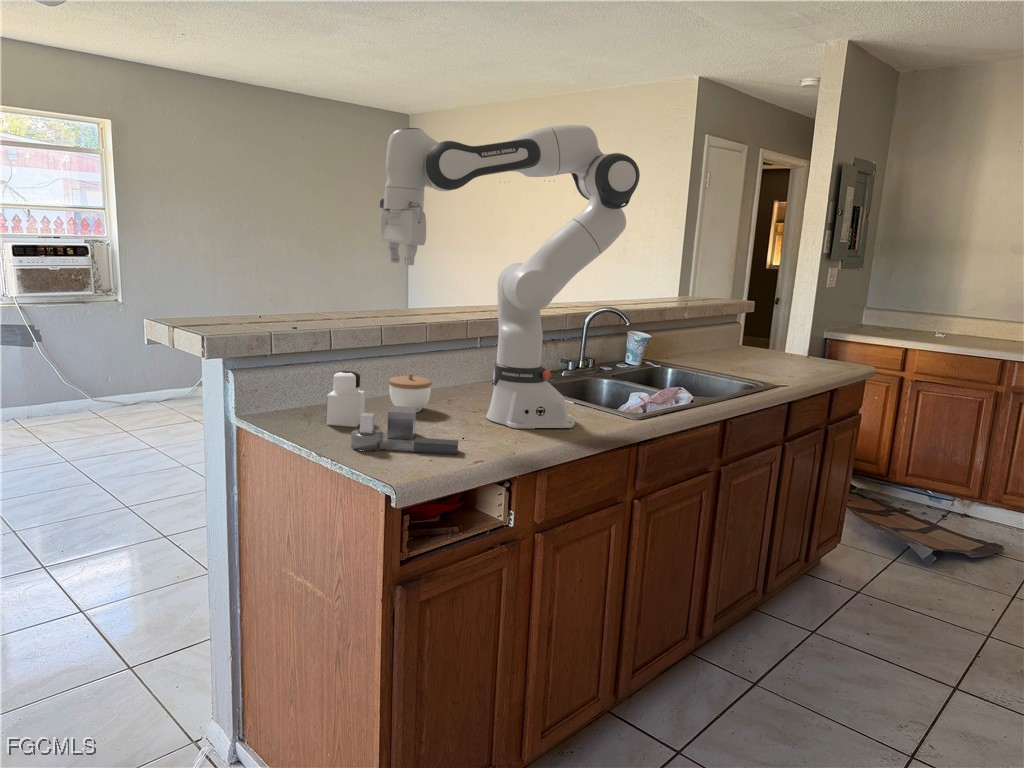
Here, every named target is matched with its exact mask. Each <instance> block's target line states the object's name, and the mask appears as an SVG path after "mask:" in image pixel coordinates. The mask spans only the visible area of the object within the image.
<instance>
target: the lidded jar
mask: <svg viewBox="0 0 1024 768" xmlns="http://www.w3.org/2000/svg"><path fill="white" fill-rule="evenodd" d="M388 381H389V382H388V383H389V386H388V387H389V397H390V401H391V403H392V404H393V406H403V407H416V413H418V412H421V411H422V409H423V408H425V406H427V404H428V402H429V400H430V397H431V390H432V383H433V382H432V380H431V379H429V378H427V377H422V376H417V375H416V376H414V374H413V373H408V375H399V376H393V377H391V378H389V379H388Z"/></svg>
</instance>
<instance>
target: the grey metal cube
mask: <svg viewBox="0 0 1024 768" xmlns="http://www.w3.org/2000/svg"><path fill="white" fill-rule="evenodd" d="M416 420H417V412H416V407H403V406H395V405H391V406H390V408H389V409H388V411H387V430H386V431H387V433H386V435H387V436H386V439H393V440H410V441H414V440H413V439H414V437H415V434H416Z"/></svg>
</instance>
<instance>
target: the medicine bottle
mask: <svg viewBox="0 0 1024 768" xmlns="http://www.w3.org/2000/svg"><path fill="white" fill-rule="evenodd" d="M332 378H333V379H332V391H330V392H329V393H328V394H327V395H326V421H325V422H326V423H325V424H326V425H327V426H336V427H347V428H348V427H349V428H357V427H358V426H360V415H361V414H362V413H365V404H366V403H365V401H366V395H365V394H366V391H365V390H361V388H360V387H361V374H360V373H358V372H356V371H352V370H340V371H336V372H335V373H333V375H332Z"/></svg>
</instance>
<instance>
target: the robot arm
mask: <svg viewBox="0 0 1024 768" xmlns="http://www.w3.org/2000/svg"><path fill="white" fill-rule="evenodd" d="M385 158H386V159H385V171H386V176H387V177H386V182H385V186H384V194H383V196H382V198H381V199H379V205H378V208H379V210H381V213H380V235H381V241H382V242H383V243H388V250H389V254H390V257H389V260H390V263H395V264H398V263H400V257H401V256H400V255H399V248H400V244H404V245H406V246H405V249H406V254H405V256H404V261H403V263H404V265H407V266H414V265H415V257H416V255H417V252H418V246H424V245H425V243H426V241H427V218H426V213H425V212H424V205H425V203H424V202H425V188H426V187H427V188H431V189H434V190H435V191H439V192H450V191H454V190H459V189H460V188H462V187H464V186H465V185H467V184H468V183H469V182H470V181H472V180H474V179H476V178H478V177H479V178H480V177H483V176H488V175H495V174H500V173H501V174H502V173H507V172H508V173H509V172H516V173H520V174H522V175H524V176H526V177H529V178H545V177H554V176H559V175H565V174H571V177H572V179H573V181H574V184H575V187H576V190H577V192H578V193H579V194H580V195H581V196H582V197H583V198H584V199H585V200H587V201H588V203H587V204H586V206H585V208H583V210H582V211H581V212H580V213H579V214H577V215H575V217H573V218H572V219H571V220H570V221H568V222H567V223H566V224H565V225H563V226H562V227H561V228H560V229H558V230H557V231H556V232H555V233H553V234H552V235H551V236H549V238H547V239H546V240H545V241H544V243H543V245H541V247H540V248H539V249H538V250H537V251H536V252H535V253H534V254H533V255H532V256H530V258H529V259H527V260H526V261H525V262H523V263H522V262H516V263H511V264H509V265H507V266H506V267H505V268H504V269H503V270H502V271H501V272H500V273H499V276H498V278H497V320H498V321H497V324H498V338H497V350H496V351H497V352H496V354H497V355H496V362H495V363H494V368H493V374H492V376H493V378H492V382H493V383H492V384H493V390H492V391H493V392H492V396H491V400H490V405H489V407H488V410H487V414H486V416H485V417H486V418H487V420H489V421H491V422H494V423H497V424H501V425H505V426H508V427H509V428H513V429H535V428H571V427H573V426H574V425H575V426H576V420H575V417H574V416H573V415H571V414H569V413H568V408H567V407H568V406H567V401H566V400H565V397H564V395H563V394H562V393H560V392H559V391H558V389H556V388H555V387H554V386H553V384H550V382H548V380H550V378H551V377H552V373H551V371H549V370H548V369H547V368H546V367H544V366H543V365H541V363H542V350H543V349H542V348H543V340H544V339H543V338H544V334H543V328H542V319H541V316H542V315H541V310H543V309H545V308H547V306H549V305H550V303H552V301H553V300H554V298H555V297H556V296H557V295H558V294H559V293H560V292H561V291H562V290H563V289H564V288H565V287H566V285H567V284H568V283H570V282H571V280H572V279H573V278H574V277H575V276H576V275H578V273H580V272H581V271H582V270H583V269H585V268H586V267H587V266H588V265H590V263H592V262H593V261H594V260H595V259H597V258H598V257H599V256H601V255H602V254H603V253H604V252H605V251H606V250H607V249H608V248H609V247H611V246H612V245H613V243H614V242H615V241H617V240H618V238H620V236H621V235H622V233H624V231H625V229H626V226H627V218H626V214H625V212H624V210H623V209H622V208H625V207H627V206H628V204H629V203H630V201H631V198H632V196H633V194H634V193H635V191H636V189H637V187H638V185H639V182H640V176H641V175H640V174H641V173H640V168H639V165H638V163H636V161H635V160H634V159H633V158H632V157H630V156H628V155H627V154H624V153H620V152H613V153H606V154H605V153H603V152H602V151H601V149H600V147H599V140H598V138H597V135H596V133H595V132H594V131H593V129H592V128H591V127H589V126H586V125H582V124H581V125H580V124H579V125H578V124H562V125H560V124H559V125H553V126H552V125H551V126H546V127H540V128H538V129H534V130H530V131H528V132H525V133H522V134H520V135H519V136H517V137H515V138H513V139H511V140H507V141H503V142H496V143H495V142H493V143H489V144H487V143H486V144H482V145H469V144H468V145H467V144H465V143H461V142H458V141H453V140H444V141H440V142H438V141H436V140H435V139H434V138H432V137H431V136H429V134H427V133H426V132H425V131H424V130H423V129H422V128H420V127H405V128H400V129H397V130H395V131H393V132H392V133H391V134H390V136H389V138H388V141H387V147H386V157H385ZM575 426H574V427H575ZM574 427H573V428H574ZM571 429H572V428H571Z"/></svg>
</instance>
